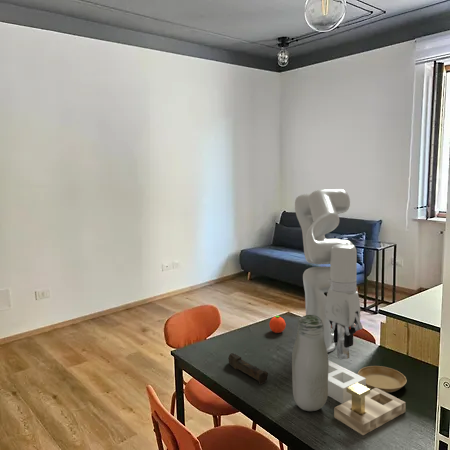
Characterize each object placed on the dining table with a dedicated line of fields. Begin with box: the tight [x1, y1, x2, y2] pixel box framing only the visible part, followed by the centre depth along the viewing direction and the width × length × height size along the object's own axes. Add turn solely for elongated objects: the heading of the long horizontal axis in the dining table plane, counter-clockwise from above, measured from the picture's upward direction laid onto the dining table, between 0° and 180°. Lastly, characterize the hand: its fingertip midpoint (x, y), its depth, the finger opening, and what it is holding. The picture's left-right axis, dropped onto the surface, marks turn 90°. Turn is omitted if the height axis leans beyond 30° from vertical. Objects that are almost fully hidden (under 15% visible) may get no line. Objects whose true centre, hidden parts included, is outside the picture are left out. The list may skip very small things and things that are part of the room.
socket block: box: [333, 388, 407, 436], centre depth 120 cm, size 18×10×3 cm, turn 123°
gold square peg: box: [347, 383, 371, 416], centre depth 117 cm, size 4×4×9 cm
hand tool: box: [227, 352, 269, 385], centre depth 148 cm, size 19×4×5 cm, turn 35°
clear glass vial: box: [336, 323, 350, 360], centre depth 130 cm, size 4×4×11 cm
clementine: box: [268, 315, 287, 334], centre depth 182 cm, size 8×7×7 cm
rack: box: [327, 359, 367, 404], centre depth 135 cm, size 10×16×5 cm, turn 33°
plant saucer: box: [357, 365, 407, 394], centre depth 137 cm, size 15×15×3 cm
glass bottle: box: [291, 314, 330, 412], centre depth 123 cm, size 10×10×28 cm
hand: (343, 343), depth 130 cm, fingers closed on clear glass vial, 3 cm apart
